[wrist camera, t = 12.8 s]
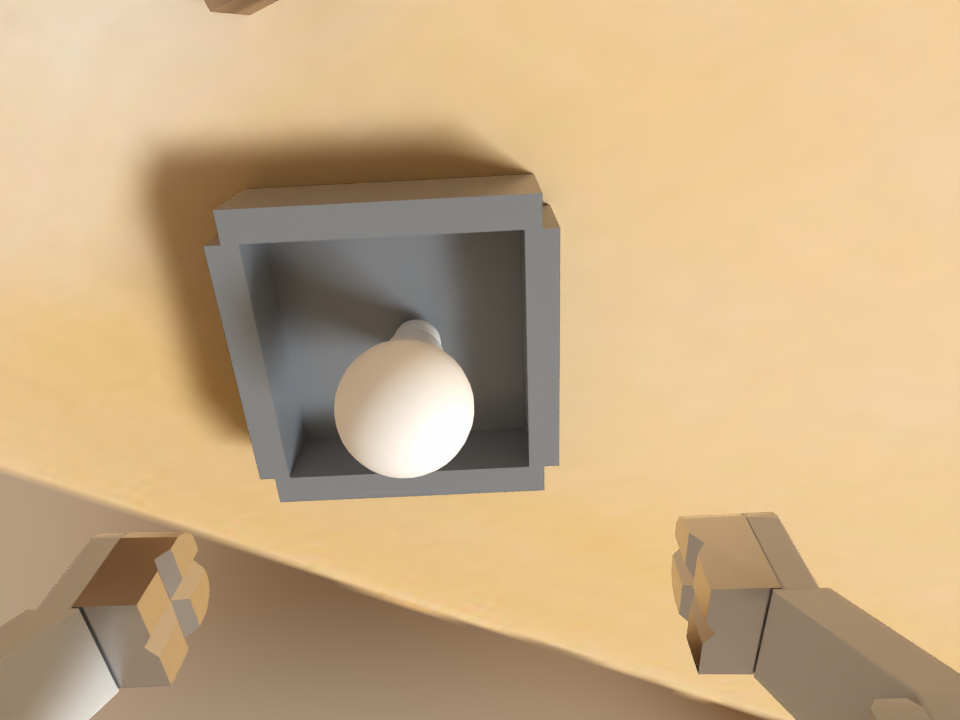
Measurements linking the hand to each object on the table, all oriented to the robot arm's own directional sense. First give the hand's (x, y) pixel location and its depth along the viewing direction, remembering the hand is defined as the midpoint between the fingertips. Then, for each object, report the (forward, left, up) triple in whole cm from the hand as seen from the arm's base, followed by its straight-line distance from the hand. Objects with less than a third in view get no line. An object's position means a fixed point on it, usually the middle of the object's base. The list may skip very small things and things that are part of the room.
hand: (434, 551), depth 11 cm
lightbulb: (+3, +7, -25) cm, 26 cm away
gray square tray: (+4, +7, -25) cm, 26 cm away
